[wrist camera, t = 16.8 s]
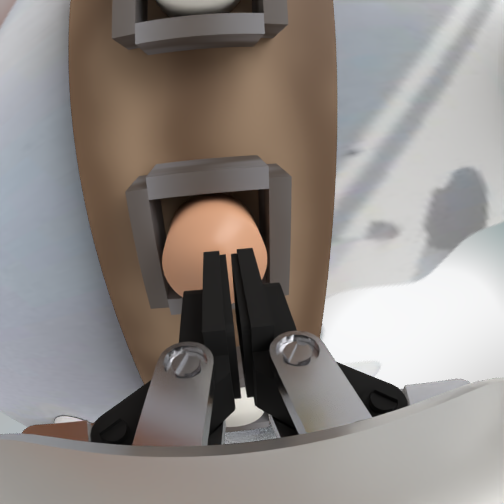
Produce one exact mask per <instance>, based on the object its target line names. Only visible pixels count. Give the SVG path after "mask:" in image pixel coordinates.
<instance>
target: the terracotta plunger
mask: <svg viewBox="0 0 504 504" xmlns="http://www.w3.org/2000/svg"><path fill="white" fill-rule="evenodd" d="M244 248H253V251H254V255H255V258H256V262H257V265H258V269H259V272H260V276H261V280H262V278H263V276H264V274H265V271H266V267H267V252H266V248H265V245H264V242H263V240H262V237H261V235H260V233H259V230H258V228H257V226H256V223H255V221H254V218H253V216H252V214H251V212H250V211H249V209H248V208H247V207H246V206H245V205H244V204H243V203H242V202H241V201H239V200H238V199H236V198H234V197H232V196H230V195H227V194H223V193H209V194H199V195H196V196H194V197H192V198H190V199H188V200H187V201H186V202H184V203H183V204H182V205H181V206H180V207H179V208H178V209H177V211H176V212H175V214H174V216H173V217H172V220H171V223H170V226H169V230H168V234H167V238H166V242H165V246H164V250H163V256H162V266H163V271H164V275H165V277H166V279H167V281H168V283H169V285H170V286H171V287H172V288H173V290H174V291H175V292H176V293H178V294H179V295H180V296H181V297H183V292H184V291H190V290H202V289H203V252H210V251H219V253H220V255H223V254H226V261H227V270H228V279H229V288H230V296H231V304H232V303H235V302H234V290H233V277H232V264H231V254H234V253H237V249H244Z"/></svg>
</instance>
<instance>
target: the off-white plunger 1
mask: <svg viewBox="0 0 504 504" xmlns="http://www.w3.org/2000/svg"><path fill="white" fill-rule="evenodd" d="M239 1H240V0H156V2H157V4H158V6H159V7H160V9H161V10H162V11H163V12H164V13H165V14H166V15H168V16H169V17H171V18H172V17H180V16H190V15H201V14H218V13H229V12H230V11H231V10H233V9H234V8H235V7H236V5H237V4H238V3H239Z"/></svg>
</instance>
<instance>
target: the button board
mask: <svg viewBox="0 0 504 504" xmlns="http://www.w3.org/2000/svg"><path fill="white" fill-rule="evenodd" d="M69 86H70V102H71V113H72V124H73V133H74V141H75V148H76V155H77V162H78V168H79V174H80V180H81V185H82V190H83V196H84V201H85V205H86V210H87V215H88V219H89V223H90V227H91V232H92V236H93V240H94V243H95V247H96V251H97V255H98V258H99V262H100V265H101V269H102V272H103V276H104V279H105V282H106V285H107V289H108V292H109V295H110V298H111V301H112V304H113V307H114V310H115V312H116V315H117V318H118V321H119V324H120V326H121V329H122V332H123V334H124V337H125V340H126V342H127V345H128V347H129V350H130V352H131V355H132V357H133V360H134V362H135V364H136V367H137V369H138V371H139V374H140V376H141V378H142V380H143V383H144V385H145V384H146V383H148V382H149V381H150V380H152V377H153V374H154V370H155V367H156V364H157V361H158V359H159V357H160V355H161V353H162V352H163V351H164V350H165V349H166V348H168V347H170V346H172V345H173V344H177V343H179V333H180V321H181V310H182V300H183V297H181V296H180V295H179V294H178V293H176V292H175V291H174V290H173V288H172V287H171V286H170V285H169V283H168V281H167V279H166V277H165V275H164V271H163V266H162V256H163V250H164V246H165V242H166V238H167V234H168V230H169V226H170V223H171V220H172V217H173V216H174V214H175V212H176V211H177V209H178V208H179V207H180V206H181V205H182V204H183V203H184V202H186V201H187V200H188V199H190V198H192V197H194V196H196V195H199V194H209V193H223V194H227V195H230V196H232V197H234V198H236V199H238V200H239V201H241V202H242V203H243V204H244V205H245V206H246V207H247V208H248V209H249V211H250V212H251V214H252V216H253V218H254V221H255V223H256V226H257V228H258V230H259V233H260V235H261V237H262V240H263V242H264V245H265V248H266V252H267V267H266V271H265V274H264V276H263V278H262V283H263V284H267V283H276V282H279V283H280V285H281V287H282V290H283V293H284V295H285V298H286V301H287V304H288V306H289V309H290V312H291V315H292V318H293V320H294V323H295V326H296V329H297V331H305V332H308V333H312V334H313V335H315V336H317V337H319V339H320V333H321V326H322V319H323V312H324V304H325V296H326V287H327V279H328V269H329V259H330V249H331V238H332V225H333V212H334V196H335V178H336V152H337V62H336V38H335V21H334V8H333V0H240V1H239V3H238V4H237V5H236V7H235V8H234V9H233V10H231V11H230V12H229V13H218V14H201V15H190V16H180V17H172V18H171V17H169V16H168V15H166V14H165V13H164V12H163V11H162V10H161V9H160V7H159V6H158V4H157V2H156V0H71V2H70V16H69ZM231 305H232V313H233V322H234V331H235V341H236V351H237V361H238V371H239V380H240V388H242V387H245V381H244V374H243V367H242V360H241V353H240V346H239V339H238V331H237V324H236V314H235V303H232V304H231ZM269 424H271V423H270V420H269V414H268V413H266V412H264V413H263V415H262V416H261V417H260V418H259V419H257V420H256V421H254V422H252V423H250V424H247V425H243V426H238V427H226V430H225V432H234V431H243V430H251V429H258V428H265V427H269Z"/></svg>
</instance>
